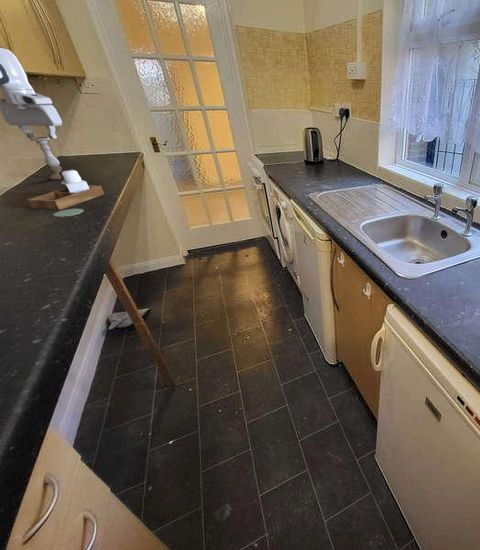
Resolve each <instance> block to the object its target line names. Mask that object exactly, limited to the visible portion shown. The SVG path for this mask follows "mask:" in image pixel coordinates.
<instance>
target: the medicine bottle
mask: <svg viewBox="0 0 480 550" xmlns="http://www.w3.org/2000/svg"><path fill="white" fill-rule="evenodd" d="M59 174H60V176H61V178H62V179H61V180H62V181H61V182H60V185H61V186H62V189H64V190H65V192H81V191H84V190H87V189H89V187H88V182H87V181H86V180H83V179H82V177H81V175H80V173H79V171H78V170H77V169H74V168H73V169H71V168H70V169H63V170H61V171H60V172H59Z"/></svg>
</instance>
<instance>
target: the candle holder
mask: <svg viewBox="0 0 480 550" xmlns="http://www.w3.org/2000/svg"><path fill="white" fill-rule="evenodd" d="M29 140H30V141H32V142H33V141H34V142H35V143H36V144H38V145H39V146H40V150H41V151H42V152H43V154H44V157H45V158H44V159H45V164H46V166H48V167H49V170H51V171H52V173H51V174H50V175H49V176H48V177H49V179H50V180H62V178H61V176H60V174H59V172H60V171H62V167H61V166H60V164H61V161H59V160H58V159H57V157H55V156H54V155H53V153H52V152H51V151H52V150H51V147H50V146H48V144H49V143H48V140H51V138H49V136H35V138H29Z"/></svg>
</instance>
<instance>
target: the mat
mask: <svg viewBox="0 0 480 550" xmlns="http://www.w3.org/2000/svg"><path fill="white" fill-rule="evenodd" d="M83 212H84V209H83V208H69V209H62V210H58V211H57V212H54V213H53V214H52V216H54V217H57V218H64V217H65V216H66V217H72V216H75V215H80V214H81V213H83ZM66 217H65V218H66Z"/></svg>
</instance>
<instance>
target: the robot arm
mask: <svg viewBox="0 0 480 550" xmlns="http://www.w3.org/2000/svg"><path fill="white" fill-rule="evenodd" d="M0 92H1V93H2V95H3V97H4V98H3V97H2V98H0V112H1V115H2V117H3V118H4V119H3V120H4V121H5V122H6V123H7V124H8V125H9V126H18V128H19V130H20V131H22V132H23V133H24V134H25V136H26V138H28V139H30V138H35V137H36V135H35V134H34V132H31V131H30V130H29V129H28V128H29V127H30V126H31V127H32V126H33V127H46V129H47V130H48V133H47V137H49V138H50V139H57V138H58V137H57V135H56V130H57V129H56V127H60V126H62V124H63V121H62V118H61V116H60V114H59V113H58V110H57V109H56V107H55V106H54V105H52V104H53V100H52V99H51V98H50V97H49V96H45V95H43V94H40V93H37V92H36V91H35V90H34V88H33V86H32V85H31V84H30V82H29V81H28V76H27V74H26V71H25V70H24V68H23V66H22V64H21V63H20V61H19V60H18V58H17V57H16V55H15V54H14V53H13V52H12V51H11V50H9V49H8V48H6V47H3V46H0ZM28 126H29V127H28Z"/></svg>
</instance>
